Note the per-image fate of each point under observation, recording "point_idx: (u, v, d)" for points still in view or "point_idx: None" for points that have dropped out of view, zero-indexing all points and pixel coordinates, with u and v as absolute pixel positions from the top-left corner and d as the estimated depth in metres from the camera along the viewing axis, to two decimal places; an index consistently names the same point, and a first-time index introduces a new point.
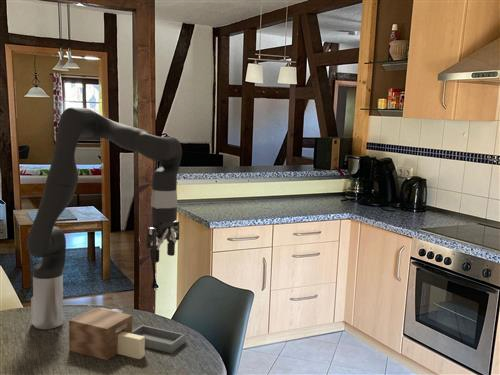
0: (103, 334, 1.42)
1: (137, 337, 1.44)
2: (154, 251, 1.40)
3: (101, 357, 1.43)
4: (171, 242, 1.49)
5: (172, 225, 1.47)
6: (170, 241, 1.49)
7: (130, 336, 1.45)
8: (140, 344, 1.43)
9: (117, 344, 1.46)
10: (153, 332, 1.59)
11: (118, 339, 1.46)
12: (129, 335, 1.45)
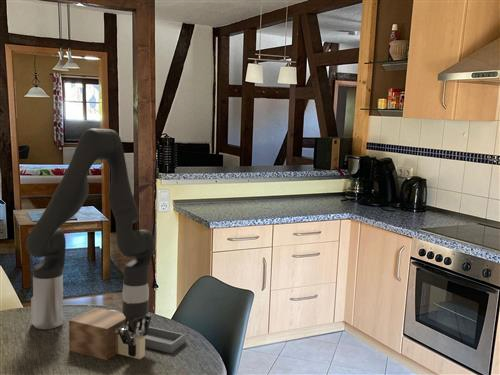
0: (103, 334, 1.42)
1: (137, 337, 1.44)
2: (131, 346, 1.43)
3: (101, 357, 1.43)
4: None
5: (144, 316, 1.47)
6: None
7: None
8: (141, 344, 1.43)
9: (117, 344, 1.46)
10: (153, 332, 1.59)
11: (118, 339, 1.46)
12: None
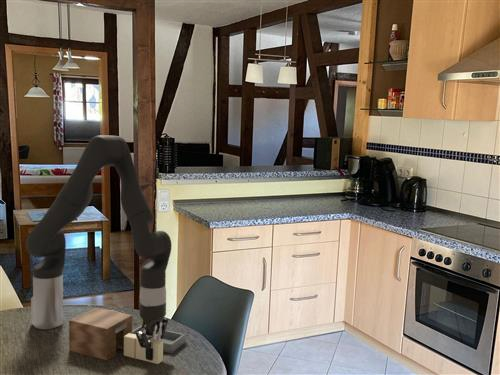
0: (103, 334, 1.42)
1: (155, 341, 1.42)
2: (148, 349, 1.40)
3: (101, 357, 1.43)
4: None
5: (161, 319, 1.44)
6: None
7: (148, 340, 1.42)
8: (159, 349, 1.41)
9: (135, 348, 1.43)
10: None
11: (136, 343, 1.43)
12: None
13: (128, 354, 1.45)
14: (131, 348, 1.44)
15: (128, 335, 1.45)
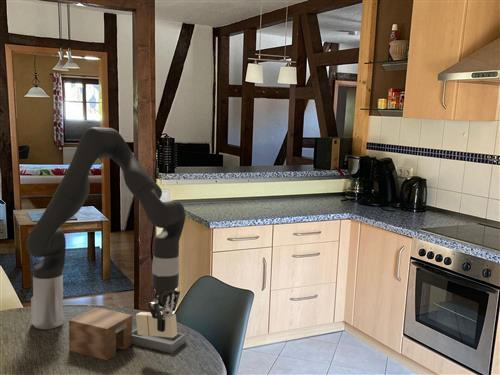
0: (103, 334, 1.42)
1: (168, 315, 1.39)
2: (160, 321, 1.38)
3: (101, 357, 1.43)
4: None
5: (173, 290, 1.42)
6: (166, 313, 1.41)
7: None
8: (172, 322, 1.38)
9: (148, 325, 1.41)
10: None
11: (148, 320, 1.41)
12: None
13: (142, 332, 1.42)
14: (144, 325, 1.42)
15: (140, 313, 1.43)
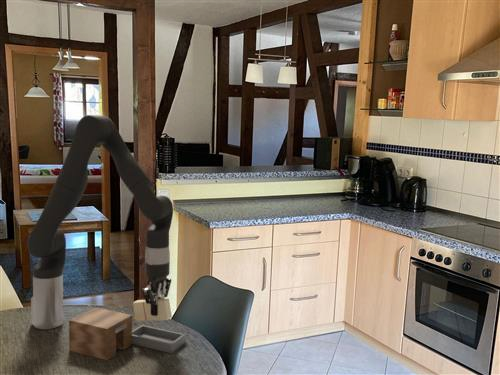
0: (103, 334, 1.42)
1: (162, 300, 1.52)
2: (153, 306, 1.51)
3: (101, 357, 1.43)
4: None
5: (165, 278, 1.55)
6: None
7: None
8: (166, 306, 1.51)
9: (144, 311, 1.54)
10: (153, 332, 1.59)
11: (144, 306, 1.54)
12: None
13: (139, 318, 1.55)
14: (141, 312, 1.54)
15: (136, 301, 1.56)
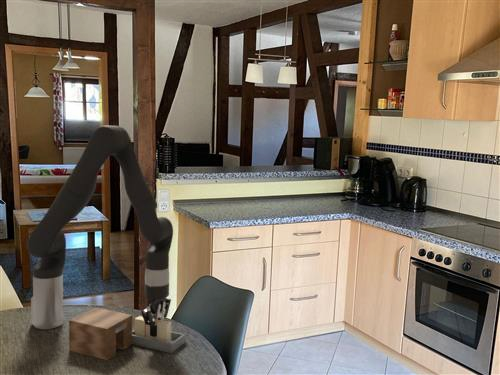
0: (103, 334, 1.42)
1: (164, 323, 1.53)
2: (152, 327, 1.52)
3: (101, 357, 1.43)
4: None
5: (165, 299, 1.56)
6: (158, 319, 1.55)
7: (157, 322, 1.53)
8: (167, 329, 1.52)
9: (145, 330, 1.55)
10: None
11: (146, 325, 1.54)
12: None
13: (139, 335, 1.56)
14: (142, 329, 1.55)
15: (138, 318, 1.56)
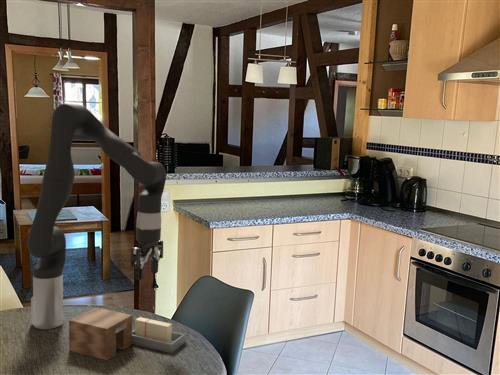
0: (103, 334, 1.42)
1: (164, 324, 1.53)
2: (138, 269, 1.49)
3: (101, 357, 1.43)
4: (155, 260, 1.58)
5: (156, 244, 1.56)
6: (154, 259, 1.58)
7: (158, 323, 1.53)
8: (168, 331, 1.52)
9: (145, 331, 1.55)
10: None
11: (146, 326, 1.54)
12: (157, 322, 1.54)
13: None
14: (142, 330, 1.55)
15: (139, 319, 1.56)
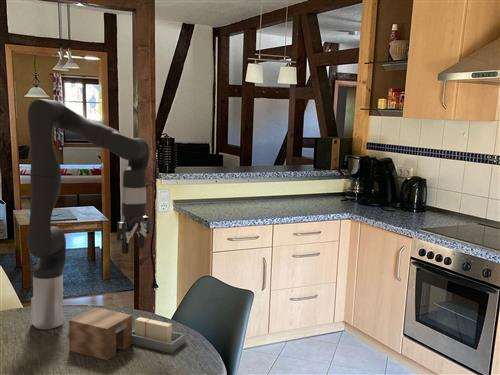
0: (103, 334, 1.42)
1: (164, 324, 1.53)
2: (124, 244, 1.51)
3: (101, 357, 1.43)
4: (141, 236, 1.60)
5: (142, 220, 1.58)
6: (140, 235, 1.60)
7: (158, 323, 1.53)
8: (168, 331, 1.52)
9: (145, 331, 1.55)
10: None
11: (146, 326, 1.54)
12: (157, 322, 1.54)
13: None
14: (142, 330, 1.55)
15: (139, 319, 1.56)
